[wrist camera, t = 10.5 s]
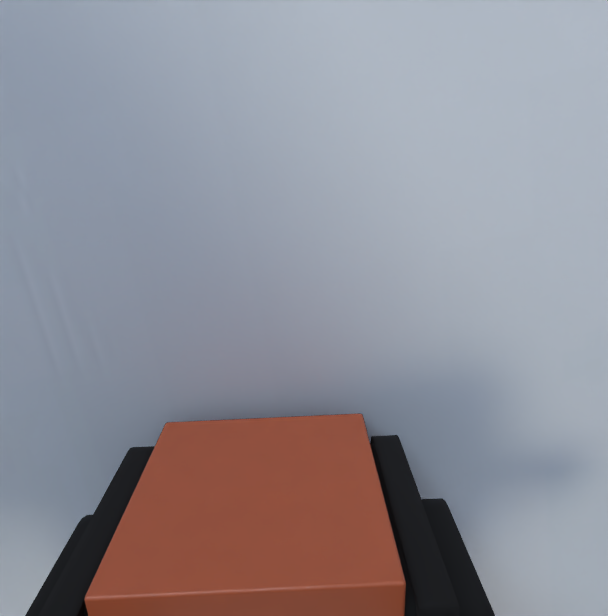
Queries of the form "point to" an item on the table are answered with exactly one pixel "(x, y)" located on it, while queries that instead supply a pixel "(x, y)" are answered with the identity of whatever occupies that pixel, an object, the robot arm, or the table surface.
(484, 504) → the table surface
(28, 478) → the table surface
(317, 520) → the orange cube
